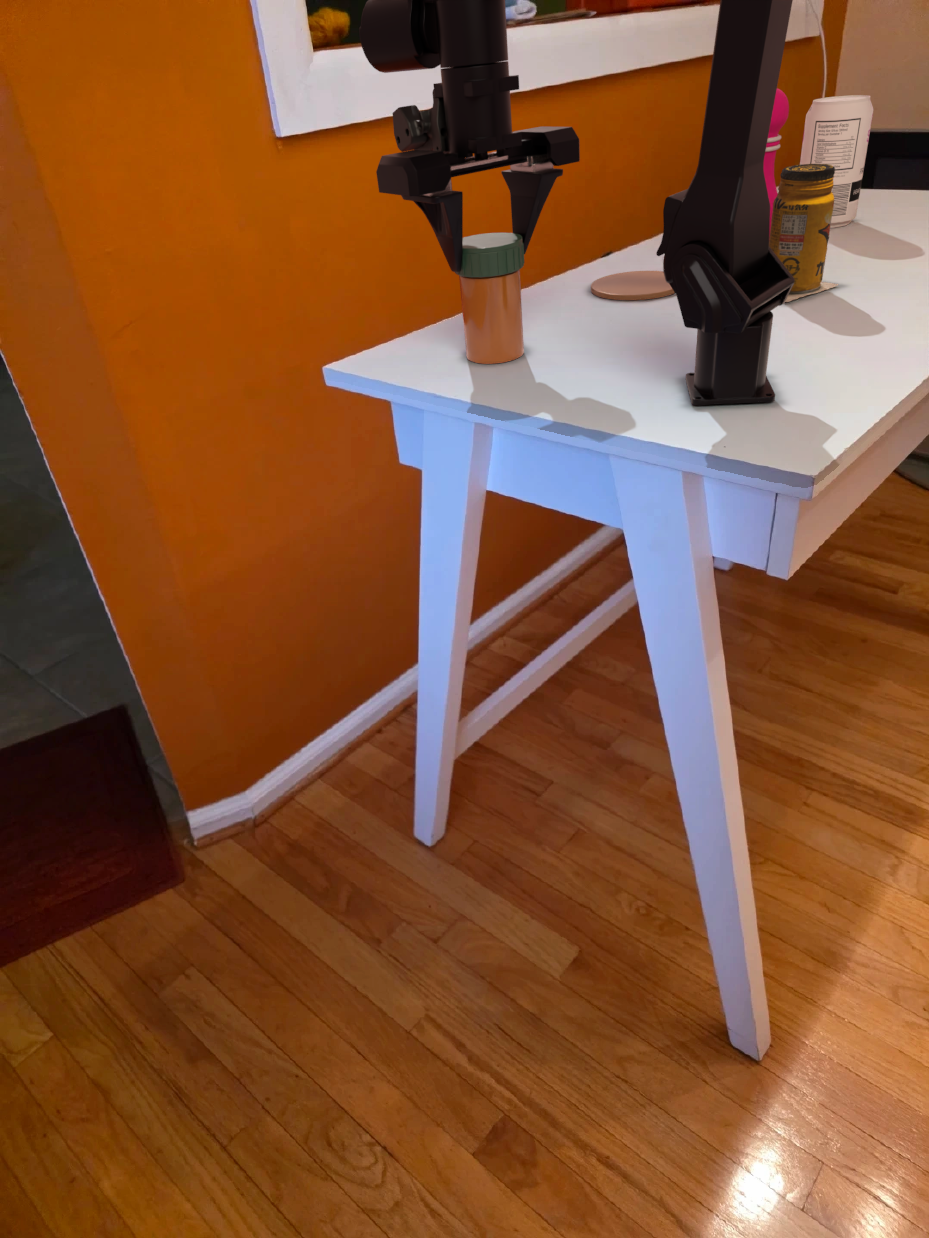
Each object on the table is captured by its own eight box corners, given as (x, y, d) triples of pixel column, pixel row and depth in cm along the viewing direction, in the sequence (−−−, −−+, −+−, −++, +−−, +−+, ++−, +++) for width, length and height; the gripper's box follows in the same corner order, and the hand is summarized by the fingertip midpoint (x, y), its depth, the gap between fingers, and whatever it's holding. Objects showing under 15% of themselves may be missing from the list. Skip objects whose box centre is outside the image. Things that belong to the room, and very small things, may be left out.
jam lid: (521, 275, 75) (520, 245, 73) (449, 280, 76) (446, 251, 74) (526, 257, 80) (525, 230, 79) (458, 262, 81) (456, 235, 80)
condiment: (838, 286, 91) (858, 163, 84) (787, 303, 87) (803, 177, 80) (784, 276, 96) (798, 160, 89) (733, 292, 92) (744, 173, 85)
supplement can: (780, 224, 118) (794, 102, 109) (824, 215, 120) (841, 94, 112) (822, 232, 112) (841, 103, 103) (868, 221, 114) (890, 95, 106)
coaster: (689, 297, 93) (689, 291, 92) (590, 303, 94) (590, 297, 94) (680, 273, 102) (681, 268, 101) (591, 279, 103) (591, 274, 103)
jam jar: (521, 362, 80) (515, 250, 74) (463, 365, 81) (452, 255, 75) (525, 343, 85) (520, 237, 79) (470, 347, 85) (460, 241, 80)
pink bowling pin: (789, 259, 102) (814, 66, 90) (740, 269, 100) (759, 74, 89) (752, 250, 107) (770, 67, 96) (705, 259, 106) (718, 74, 94)
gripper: (503, 58, 78) (513, 235, 87) (331, 81, 70) (362, 273, 79) (582, 52, 70) (584, 246, 79) (399, 77, 63) (424, 290, 72)
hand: (488, 263), depth 78 cm, fingers open, 7 cm apart
